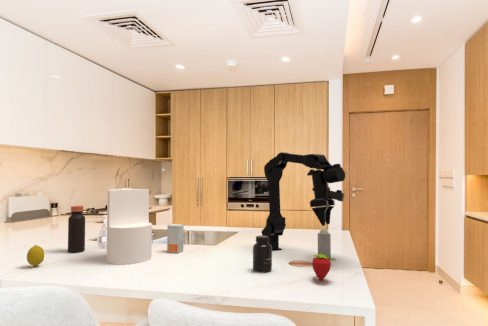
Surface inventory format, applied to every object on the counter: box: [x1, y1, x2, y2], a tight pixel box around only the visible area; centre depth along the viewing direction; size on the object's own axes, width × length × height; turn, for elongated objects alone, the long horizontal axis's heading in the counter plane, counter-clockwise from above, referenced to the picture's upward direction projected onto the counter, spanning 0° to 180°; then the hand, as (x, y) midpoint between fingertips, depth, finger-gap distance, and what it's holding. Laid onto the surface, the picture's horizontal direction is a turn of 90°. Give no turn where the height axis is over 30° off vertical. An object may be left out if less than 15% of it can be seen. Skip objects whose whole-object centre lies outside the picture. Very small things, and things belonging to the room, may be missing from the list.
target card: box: [288, 256, 337, 268], centre depth 130 cm, size 12×22×1 cm, turn 107°
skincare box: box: [166, 223, 185, 254], centre depth 149 cm, size 6×4×12 cm
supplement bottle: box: [252, 235, 273, 273], centre depth 121 cm, size 7×7×12 cm
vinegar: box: [67, 205, 86, 254], centre depth 150 cm, size 7×7×20 cm
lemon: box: [26, 244, 45, 268], centre depth 125 cm, size 6×6×8 cm
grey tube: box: [317, 228, 332, 260], centre depth 134 cm, size 5×5×12 cm
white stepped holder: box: [106, 188, 153, 266], centre depth 137 cm, size 17×17×28 cm
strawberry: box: [311, 250, 332, 282], centre depth 109 cm, size 6×8×10 cm
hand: (326, 224), depth 131 cm, fingers open, 9 cm apart
